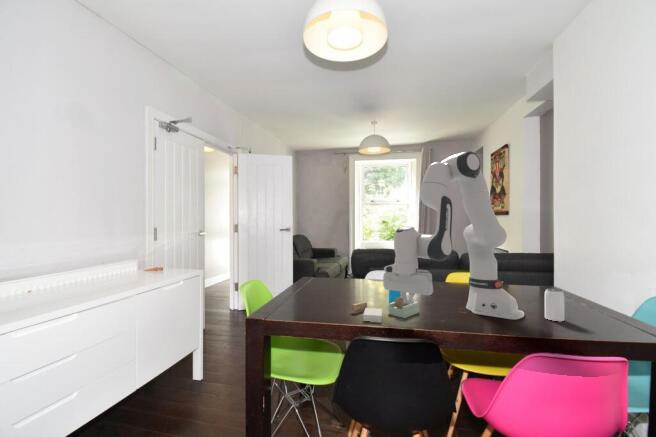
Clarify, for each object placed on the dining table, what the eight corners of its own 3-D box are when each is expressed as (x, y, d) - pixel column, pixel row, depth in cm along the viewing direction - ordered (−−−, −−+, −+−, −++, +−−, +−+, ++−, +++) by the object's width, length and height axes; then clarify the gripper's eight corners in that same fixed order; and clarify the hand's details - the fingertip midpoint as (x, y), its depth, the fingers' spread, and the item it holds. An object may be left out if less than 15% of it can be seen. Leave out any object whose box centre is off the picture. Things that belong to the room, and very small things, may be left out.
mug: (408, 307, 143) (408, 289, 143) (390, 307, 143) (390, 289, 143) (402, 300, 155) (402, 284, 155) (385, 300, 155) (385, 284, 155)
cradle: (418, 312, 134) (418, 302, 134) (404, 318, 126) (404, 307, 126) (402, 308, 140) (402, 298, 140) (388, 314, 132) (388, 303, 132)
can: (559, 323, 120) (558, 292, 121) (541, 318, 126) (541, 289, 126) (567, 320, 123) (567, 290, 124) (550, 316, 129) (549, 287, 129)
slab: (381, 323, 121) (381, 315, 121) (363, 322, 122) (363, 314, 122) (382, 315, 130) (382, 308, 130) (365, 315, 132) (365, 307, 132)
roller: (413, 306, 134) (414, 296, 134) (403, 309, 128) (404, 299, 128) (404, 303, 137) (405, 293, 137) (394, 306, 132) (395, 296, 131)
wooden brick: (366, 310, 138) (367, 302, 138) (355, 313, 132) (355, 305, 132) (363, 309, 139) (363, 301, 139) (351, 312, 133) (351, 304, 133)
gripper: (435, 269, 117) (436, 305, 117) (389, 265, 131) (390, 298, 131) (427, 271, 112) (429, 309, 112) (380, 267, 126) (381, 301, 126)
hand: (407, 303), depth 122 cm, fingers closed
